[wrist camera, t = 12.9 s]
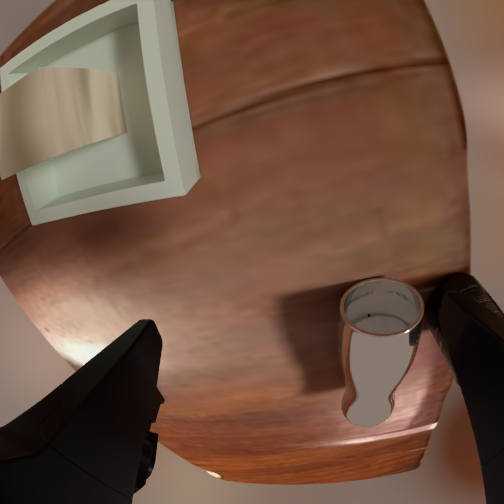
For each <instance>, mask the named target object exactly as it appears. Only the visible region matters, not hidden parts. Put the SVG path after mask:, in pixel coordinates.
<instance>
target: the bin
mask: <svg viewBox="0 0 504 504" xmlns="http://www.w3.org/2000/svg"><path fill="white" fill-rule="evenodd" d="M38 67H70V68H87V69H98V70H108V71H117V72H118V77H119V84H120V90H121V97H122V103H123V109H124V115H125V120H126V126H127V131H128V132H127V133H123V134H120V135H117V136H113V137H110V138H107V139H104V140H100V141H97V142H94V143H91V144H88V145H85V146H83V147H80V148H77V149H74V150H71V151H69V152H66V153H63V154H61V155H58V156H56V157H53V158H51V159H48V160H46V161H43V162H41V163H38V164H36V165H34V166H31V167H29V168H27V169H25V170H22V171H20V172H18V173H16V175H17V179H18V182H19V186H20V189H21V193H22V196H23V200H24V203H25V206H26V209H27V212H28V215H29V218H30V221H31V224H32V226H33V225H37V224H41V223H45V222H49V221H54V220H58V219H62V218H66V217H71V216H75V215H80V214H84V213H89V212H94V211H99V210H104V209H109V208H114V207H119V206H124V205H129V204H135V203H141V202H146V201H152V200H158V199H164V198H170V197H177V196H183V195H186V194H187V193H188V191H189V190H190V189H191V188H192V187H193V186H194V184H195V183H196V182H197V181H198V180H199V179H200V171H199V166H198V161H197V155H196V150H195V144H194V138H193V133H192V127H191V121H190V115H189V109H188V103H187V97H186V90H185V84H184V78H183V71H182V64H181V57H180V50H179V43H178V36H177V28H176V21H175V13H174V4H173V2H172V1H170V0H110V1H108V2H106V3H104V4H101V5H99V6H97V7H95V8H93V9H91V10H89V11H87V12H85V13H83V14H81V15H79V16H77V17H76V18H74V19H72V20H70V21H68V22H67V23H65V24H63V25H61V26H60V27H58V28H56V29H55V30H53V31H51V32H50V33H48V34H47V35H45V36H44V37H42V38H40V39H39V40H37V41H36V42H35V43H33V44H32V45H30V46H29V47H27V48H26V49H25V50H23V51H22V52H20V53H19V54H18V55H16V56H15V57H14V58H12V59H11V60H10V61H9V62H7V63H6V64H5V65H4V66H2V67H1V68H0V76H1V89H2V92H3V91H5V90H6V89H7V88H9V87H10V86H11V85H13V84H14V83H16V82H17V81H18V80H20V79H21V78H23V77H24V76H26V75H27V74H29V73H30V72H32V71H33V70H35V69H36V68H38Z"/></svg>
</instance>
